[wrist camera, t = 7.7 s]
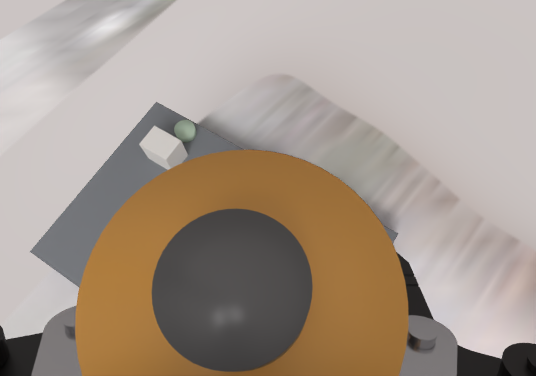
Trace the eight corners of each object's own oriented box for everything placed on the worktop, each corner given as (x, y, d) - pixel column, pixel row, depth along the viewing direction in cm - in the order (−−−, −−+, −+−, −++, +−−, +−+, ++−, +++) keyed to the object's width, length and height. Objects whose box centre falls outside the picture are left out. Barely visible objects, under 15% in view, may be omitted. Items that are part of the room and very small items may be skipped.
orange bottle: (172, 364, 15) (-50, 349, 5) (249, 248, 17) (190, 64, 7) (292, 451, 14) (299, 646, 4) (363, 318, 16) (497, 223, 6)
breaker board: (42, 257, 29) (11, 242, 26) (162, 113, 33) (147, 84, 30) (287, 434, 24) (285, 443, 21) (393, 240, 28) (405, 222, 25)
